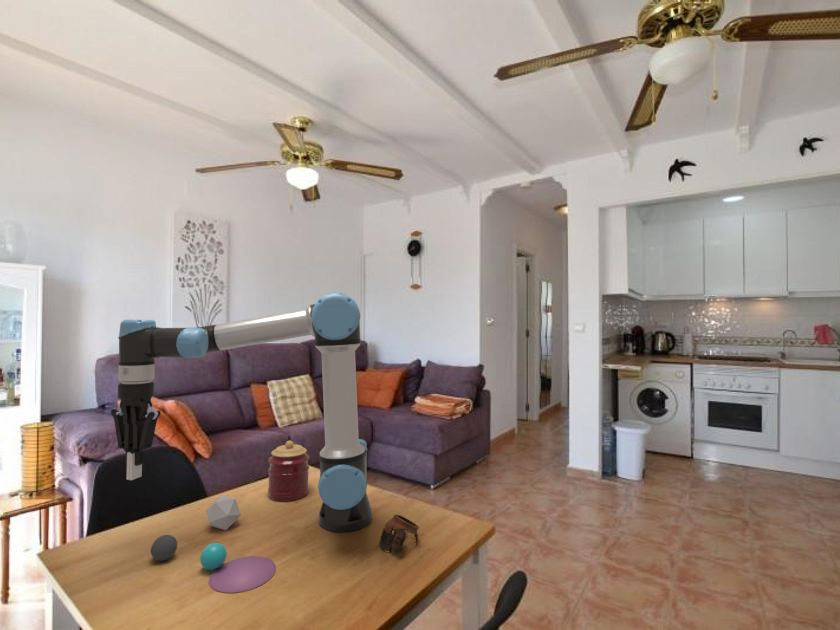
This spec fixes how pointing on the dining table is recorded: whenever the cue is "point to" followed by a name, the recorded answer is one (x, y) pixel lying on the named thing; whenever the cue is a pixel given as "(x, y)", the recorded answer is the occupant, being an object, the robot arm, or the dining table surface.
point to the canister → (288, 472)
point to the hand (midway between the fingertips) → (134, 477)
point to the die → (223, 512)
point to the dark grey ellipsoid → (164, 547)
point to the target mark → (242, 574)
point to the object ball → (213, 556)
